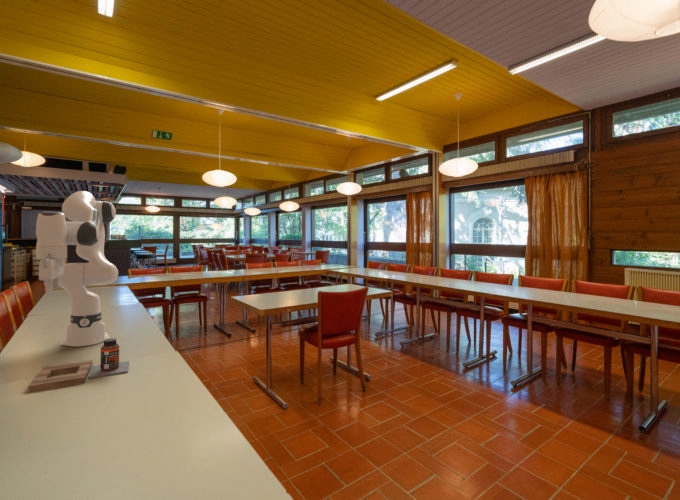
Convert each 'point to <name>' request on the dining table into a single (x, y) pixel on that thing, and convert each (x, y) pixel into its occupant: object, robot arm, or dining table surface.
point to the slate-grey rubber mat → (98, 372)
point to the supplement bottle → (109, 355)
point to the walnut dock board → (47, 381)
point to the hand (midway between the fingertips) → (52, 289)
